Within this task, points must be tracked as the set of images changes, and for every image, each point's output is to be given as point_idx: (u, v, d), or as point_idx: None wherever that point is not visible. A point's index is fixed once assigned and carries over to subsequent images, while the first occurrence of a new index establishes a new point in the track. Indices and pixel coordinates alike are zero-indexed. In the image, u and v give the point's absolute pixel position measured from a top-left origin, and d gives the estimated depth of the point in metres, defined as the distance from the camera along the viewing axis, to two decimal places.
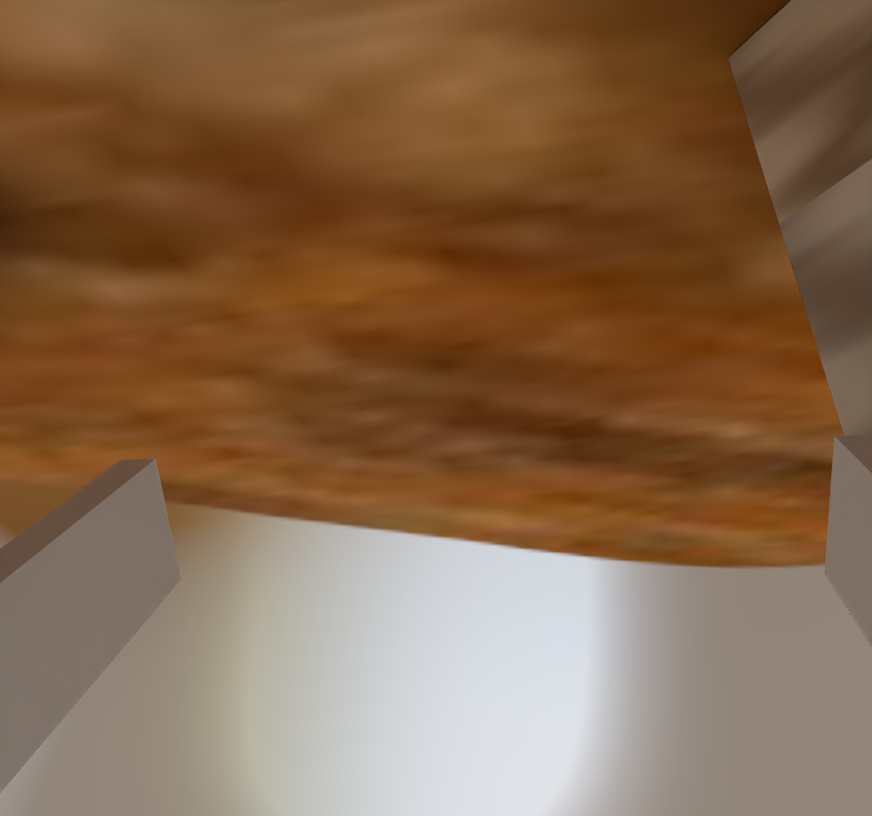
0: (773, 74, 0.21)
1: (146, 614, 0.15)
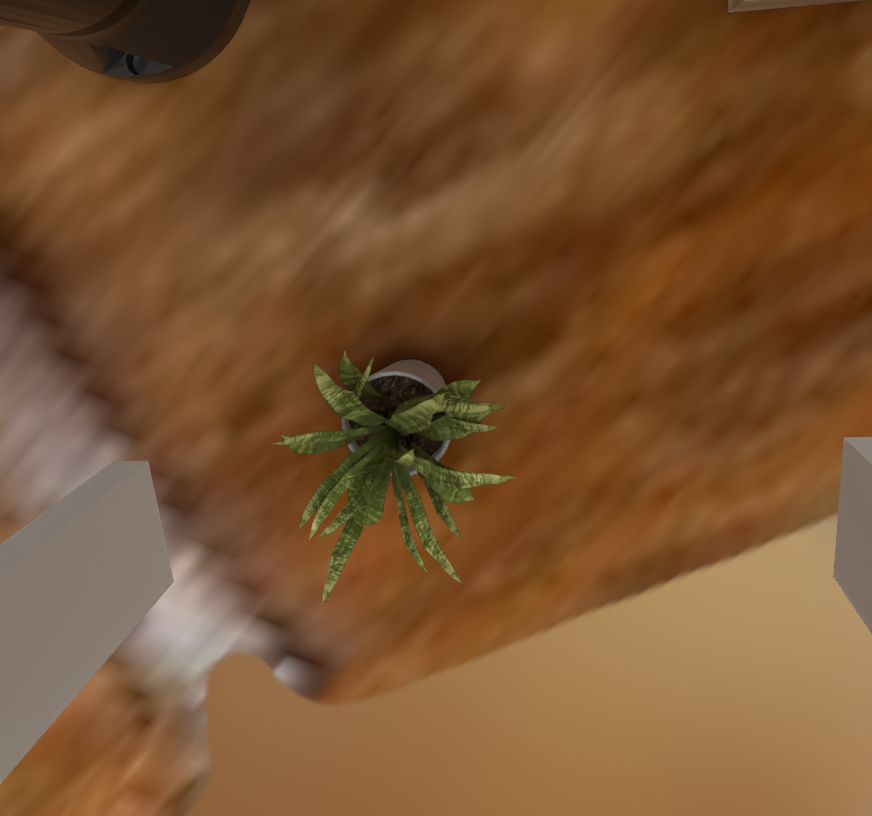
0: None
1: (139, 617, 0.15)
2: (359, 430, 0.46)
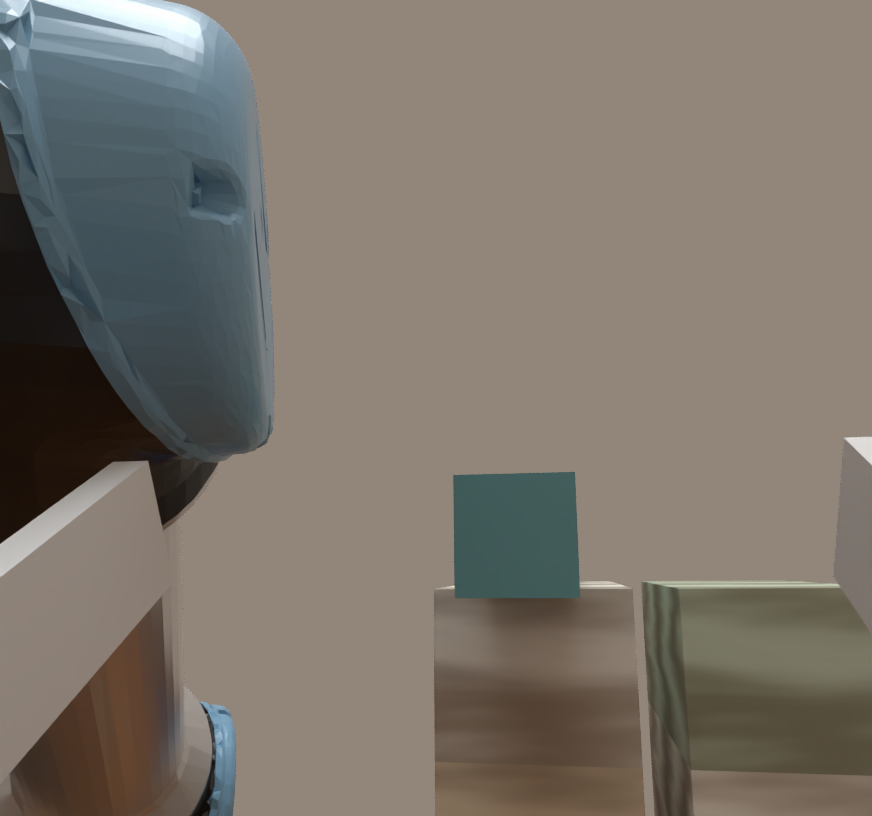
0: None
1: (138, 617, 0.15)
2: None
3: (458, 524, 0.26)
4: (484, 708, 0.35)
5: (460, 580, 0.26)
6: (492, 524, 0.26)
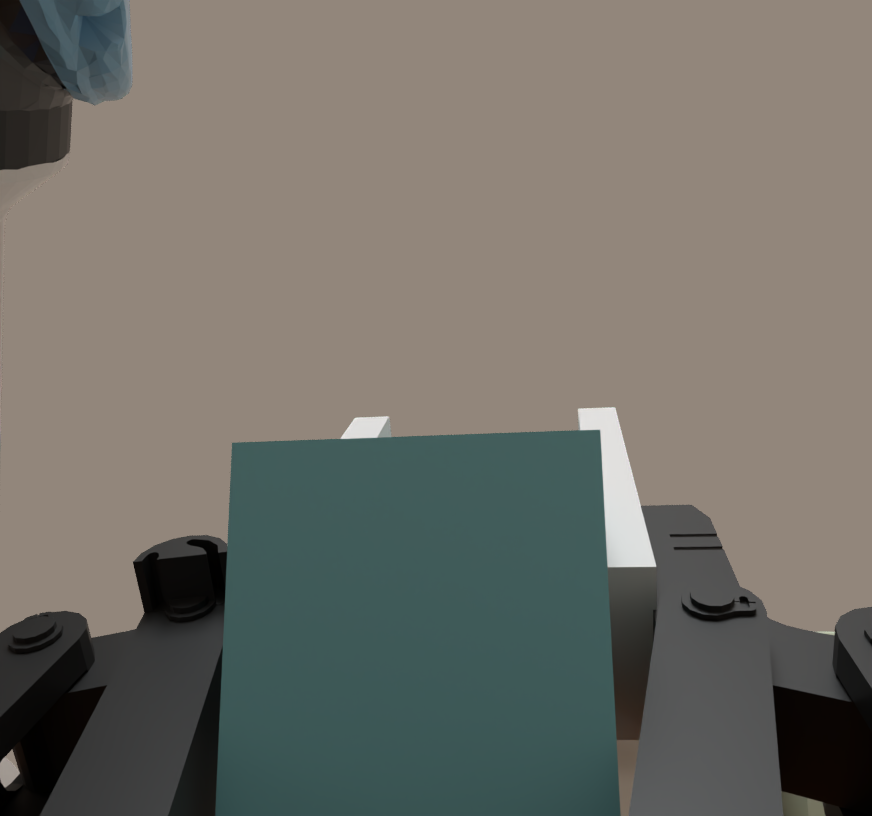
0: None
1: None
2: None
3: (238, 594, 0.08)
4: None
5: (234, 777, 0.08)
6: (340, 596, 0.08)
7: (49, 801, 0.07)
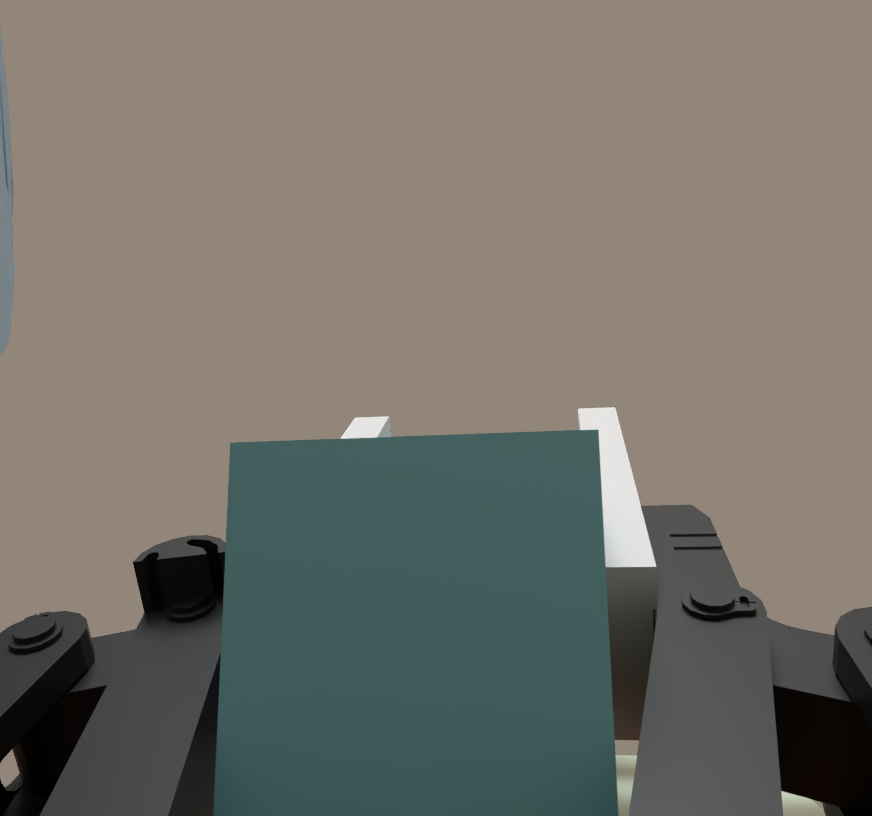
0: None
1: None
2: None
3: (236, 594, 0.08)
4: None
5: (233, 777, 0.08)
6: (338, 596, 0.08)
7: (49, 801, 0.07)
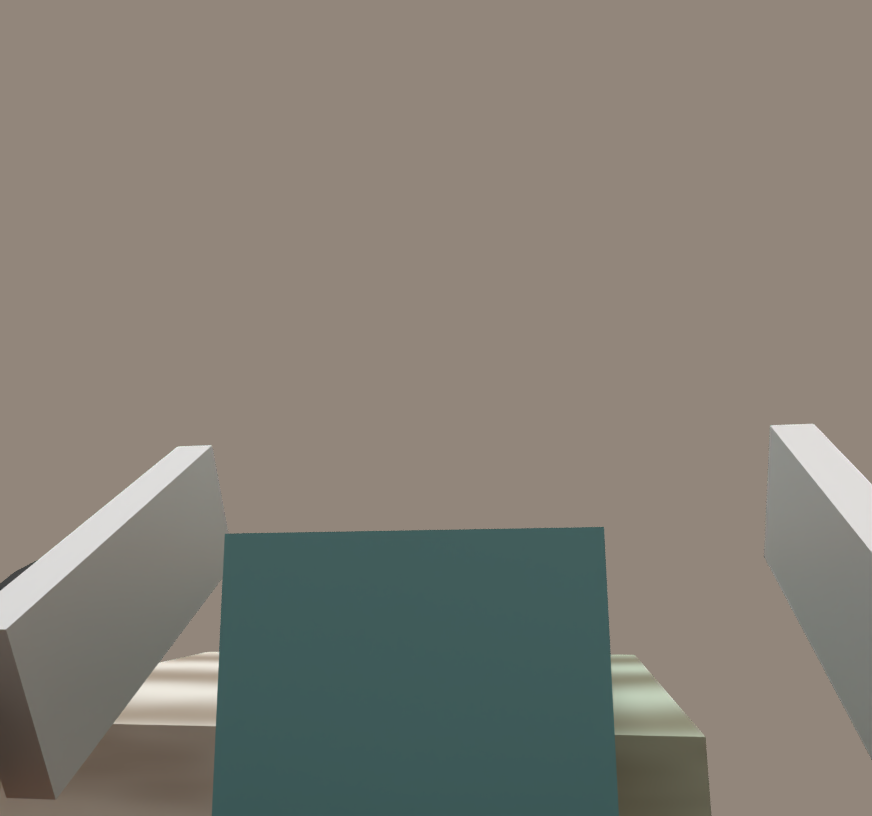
0: None
1: (204, 595, 0.16)
2: None
3: (230, 694, 0.08)
4: None
5: None
6: (335, 698, 0.08)
7: None
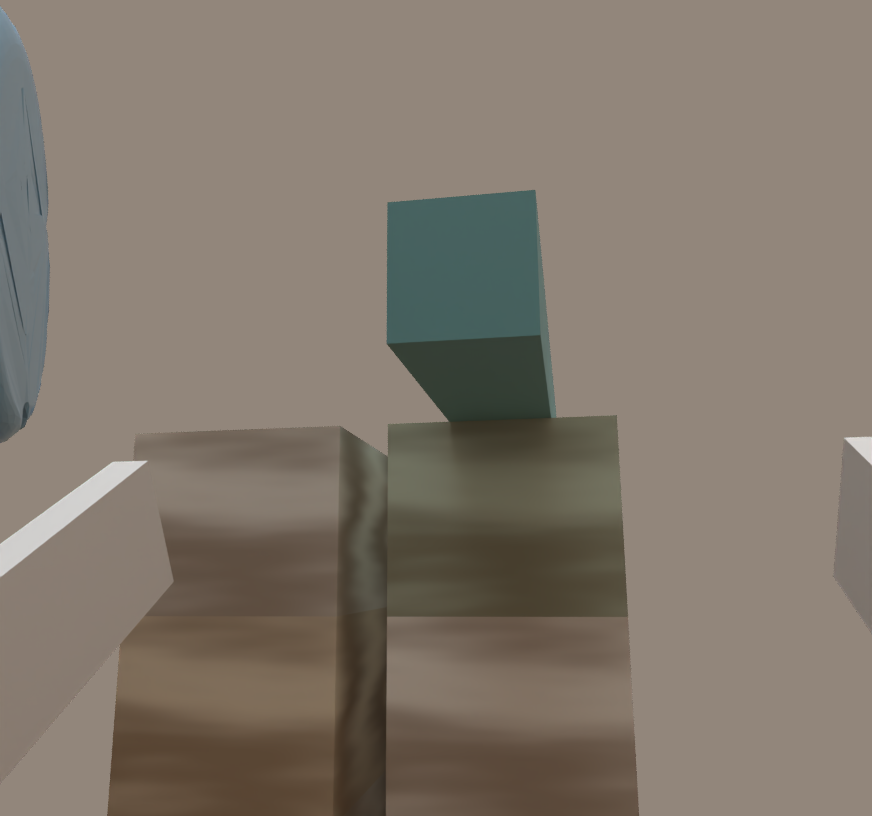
0: None
1: (138, 617, 0.15)
2: None
3: (392, 258, 0.21)
4: (177, 557, 0.32)
5: (393, 322, 0.21)
6: (433, 256, 0.21)
7: None
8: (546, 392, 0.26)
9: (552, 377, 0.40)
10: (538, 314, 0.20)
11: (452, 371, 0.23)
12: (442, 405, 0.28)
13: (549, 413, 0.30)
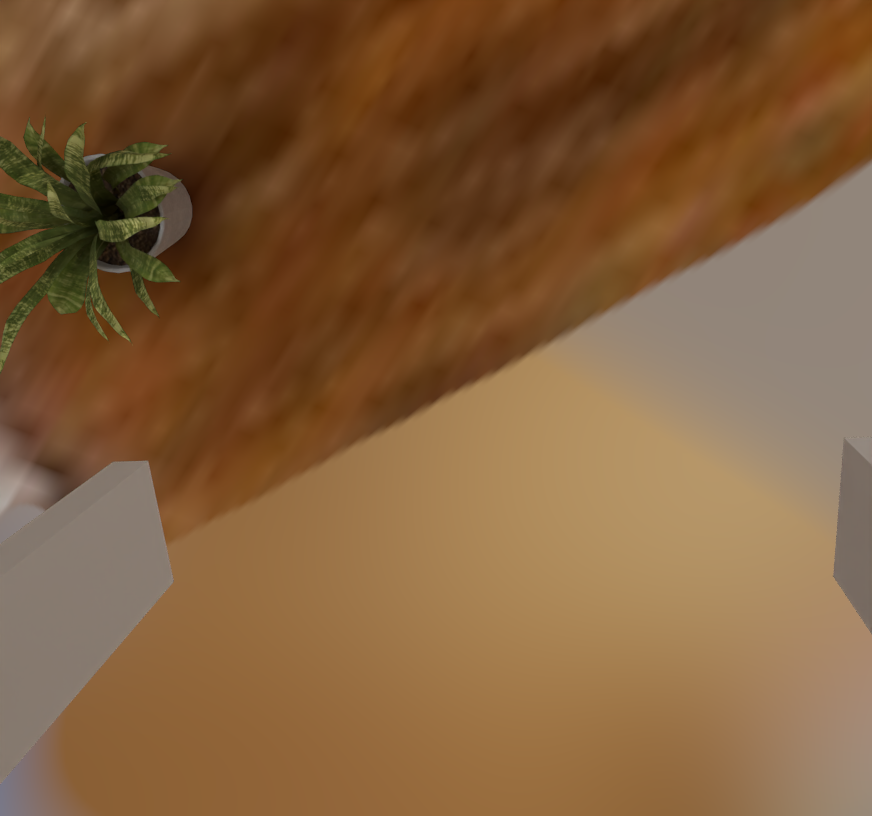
0: None
1: (138, 617, 0.15)
2: None
3: None
4: None
5: None
6: None
7: None
8: None
9: None
10: None
11: None
12: None
13: None
